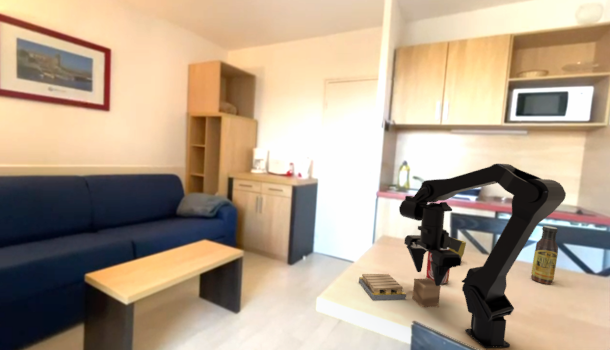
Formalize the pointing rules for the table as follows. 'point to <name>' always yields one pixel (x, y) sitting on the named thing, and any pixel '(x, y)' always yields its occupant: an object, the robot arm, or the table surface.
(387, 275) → the pallet
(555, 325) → the table surface
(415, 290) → the crate
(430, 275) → the soda can
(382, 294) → the dock
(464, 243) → the flower pot
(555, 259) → the sauce bottle
